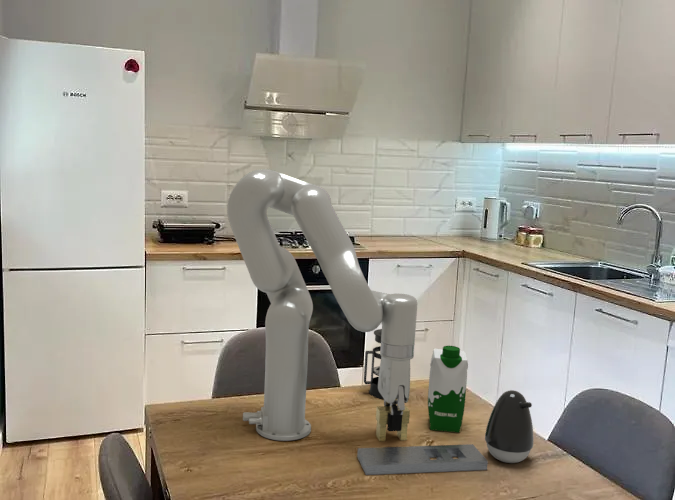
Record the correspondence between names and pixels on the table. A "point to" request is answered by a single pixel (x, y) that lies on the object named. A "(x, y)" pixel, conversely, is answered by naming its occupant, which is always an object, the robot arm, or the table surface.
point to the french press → (375, 370)
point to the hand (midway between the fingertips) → (391, 426)
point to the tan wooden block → (383, 420)
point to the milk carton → (447, 389)
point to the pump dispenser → (510, 428)
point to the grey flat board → (420, 459)
